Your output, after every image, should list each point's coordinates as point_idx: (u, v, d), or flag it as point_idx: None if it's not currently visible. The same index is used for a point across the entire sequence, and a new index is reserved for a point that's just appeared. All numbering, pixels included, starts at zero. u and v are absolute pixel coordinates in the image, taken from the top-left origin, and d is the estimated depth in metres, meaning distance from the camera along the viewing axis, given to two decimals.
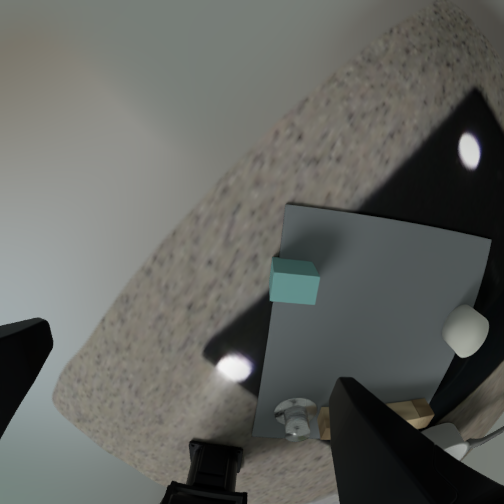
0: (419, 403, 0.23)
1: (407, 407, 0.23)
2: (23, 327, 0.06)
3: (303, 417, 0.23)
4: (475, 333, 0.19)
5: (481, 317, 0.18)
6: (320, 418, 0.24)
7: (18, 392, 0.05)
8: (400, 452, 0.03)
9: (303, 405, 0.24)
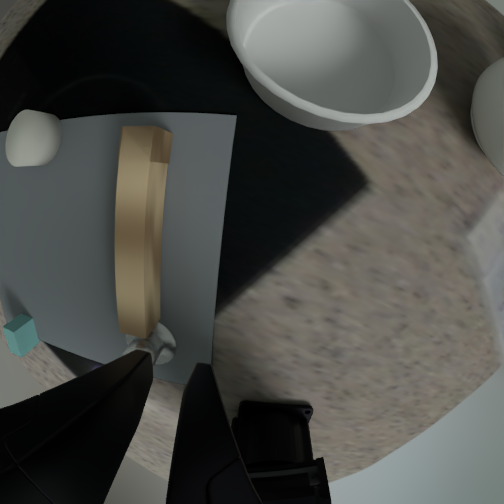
0: None
1: None
2: (130, 366, 0.06)
3: None
4: (16, 138, 0.14)
5: (6, 140, 0.14)
6: None
7: (124, 442, 0.05)
8: (183, 448, 0.03)
9: None
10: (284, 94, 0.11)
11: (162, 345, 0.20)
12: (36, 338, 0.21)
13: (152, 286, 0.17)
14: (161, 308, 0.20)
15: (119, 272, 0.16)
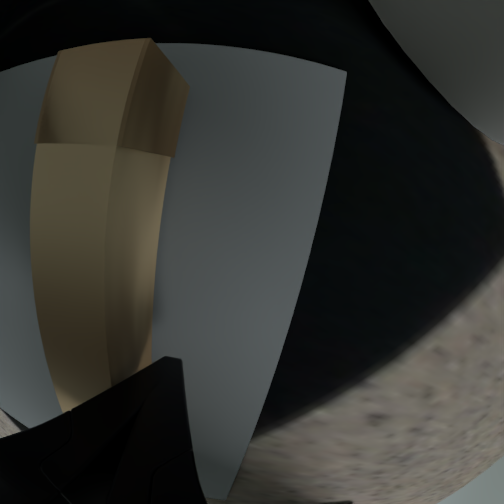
0: None
1: None
2: (162, 374, 0.06)
3: None
4: None
5: None
6: None
7: None
8: (137, 436, 0.03)
9: None
10: None
11: None
12: None
13: None
14: None
15: (66, 405, 0.05)
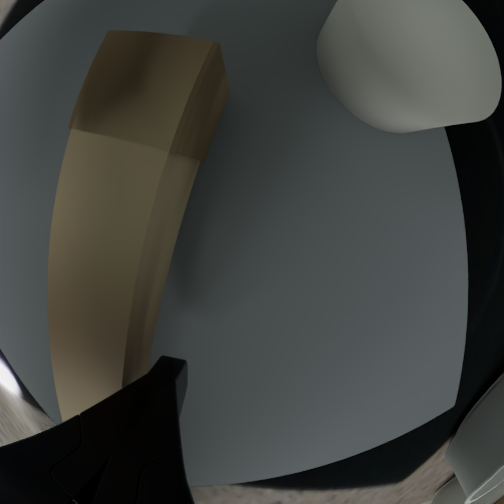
0: None
1: None
2: (171, 376, 0.06)
3: None
4: (430, 12, 0.03)
5: None
6: None
7: None
8: (127, 433, 0.03)
9: None
10: (488, 479, 0.06)
11: None
12: None
13: None
14: None
15: (64, 398, 0.05)
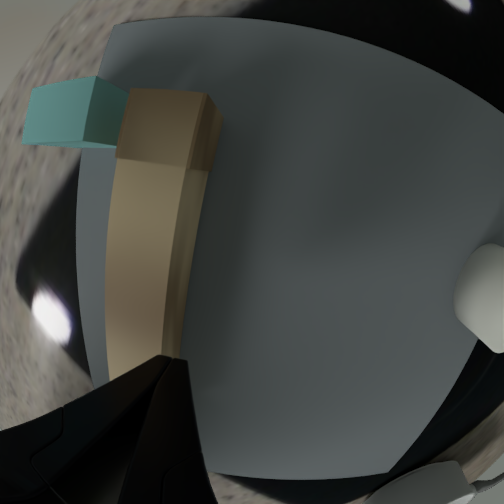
0: None
1: None
2: (155, 373, 0.06)
3: None
4: None
5: None
6: None
7: None
8: (146, 439, 0.03)
9: None
10: None
11: None
12: (81, 147, 0.09)
13: None
14: (211, 443, 0.13)
15: (114, 362, 0.08)
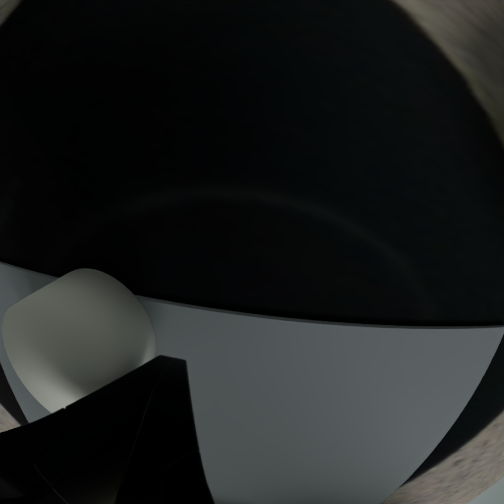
0: None
1: None
2: (157, 373, 0.06)
3: None
4: (39, 370, 0.06)
5: (7, 350, 0.06)
6: None
7: None
8: (144, 438, 0.03)
9: None
10: None
11: None
12: None
13: None
14: (339, 503, 0.11)
15: None
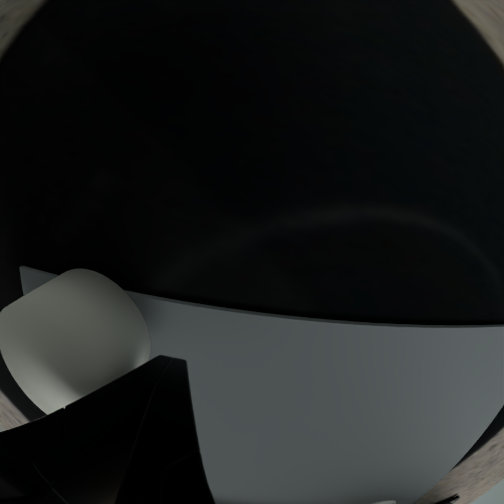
0: None
1: None
2: (156, 373, 0.06)
3: None
4: (34, 371, 0.05)
5: (3, 353, 0.05)
6: None
7: None
8: (144, 438, 0.03)
9: None
10: None
11: None
12: None
13: None
14: (399, 492, 0.11)
15: None
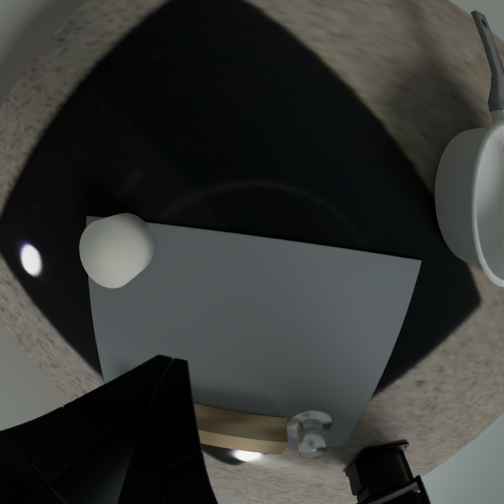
0: None
1: None
2: (155, 373, 0.06)
3: (300, 436, 0.20)
4: (99, 253, 0.16)
5: (80, 250, 0.16)
6: None
7: None
8: (146, 439, 0.03)
9: (297, 423, 0.22)
10: (488, 272, 0.13)
11: None
12: None
13: (250, 426, 0.20)
14: (329, 403, 0.21)
15: (232, 447, 0.19)
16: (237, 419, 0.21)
